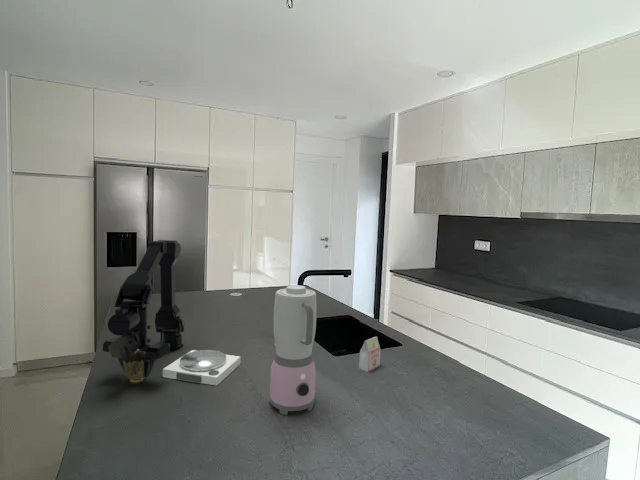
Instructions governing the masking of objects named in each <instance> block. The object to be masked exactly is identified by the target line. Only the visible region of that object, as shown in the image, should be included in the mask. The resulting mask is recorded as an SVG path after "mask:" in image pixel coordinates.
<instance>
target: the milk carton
mask: <svg viewBox="0 0 640 480" xmlns="http://www.w3.org/2000/svg"><path fill="white" fill-rule="evenodd" d="M381 352H382V351H381V346H380V344H379V339H378V336H373V337H371V338H368V339H366V340H364V342H363V345H362V347H361V348H360V350H359V359H358V360H359V361H358V363H359V364H358V369H359V370H362V371H364V372H366V373H369V372H371V371H373V370H375V369H377V368H379V367H380V365H381Z"/></svg>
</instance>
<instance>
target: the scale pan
mask: <svg viewBox="0 0 640 480" xmlns="http://www.w3.org/2000/svg"><path fill="white" fill-rule="evenodd" d="M187 353H188V352H187ZM187 353H185V354H186V355H185V354H184V355H182V356H183V357H182V356H181V357H182V358H181V357H180V358H181V359H180V366H181V367H182V368H184V369H187V370H191V371H206V370H212V369H215V368H218V367H220V366H222V365H223V364H224V363H225V362H226V355H227V354H226V353H224V352H222V351H220V350H215V349H200V350H196V351H194V352H191V353H188V354H187Z"/></svg>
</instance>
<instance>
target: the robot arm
mask: <svg viewBox="0 0 640 480" xmlns="http://www.w3.org/2000/svg"><path fill="white" fill-rule="evenodd" d="M181 249H182V246H181V244H180V243H178V240H169V239H168V240H167V239H165V240H164V239H158V240H151V241H148V243H147V248H146V251H145V253H144V255H143V257H142V259H141V260H140V263H139V265H138V266H137V268H136V270H135V272H133V273H131V274H130V275H128V276H127V277H126V278H125V280H124V281H123V283H122V284H121V286H120V287H119V291H118V295H117V297H116V300H115V304H114V308H117V309H115V311H114V312H115V313H114V315H112V316H111V317H110V318H109V319H108V322H107V328H108V330H109V332H110V333H111V334H112V335H115V336H114V337H111V338H108V339H107V340H104V342H103V344H102V352H107V353H109V354H110V356H111V357H112V358H117V360H118V362H119V363H120V366H121V369H122V371H123V372H124V368H123V361H122V359H123V358H126V357H127V356H128V354H130V355H131V356H132V354H133V353H135V352H138V351H140V352H142V351H143V353H145V354H146V356H144V357H142V358H141V359H142V360H143V361H144V374H145V376H144V378H148V377H149V376H150V374H151V372H152V370H153V368H154V365H155V364H156V361H157V360H158V359H161V358H162V357H165V356H166V355H167V354H169V353H171V352H175V351H176V350H178V349H179V348H181V347H183V346H184V343H183V342H182V334H181V333H184V332H185V328H186V327H185V325H186V323H185V321H184V319H183V317H182V316H181V310H180V308H179V307H178V305H177V303H176V274H175V273H176V269H175V268H176V263H177V261H178V260H179V258H180V253H181V251H182V250H181ZM158 267H159V271H160V273H159V276H160V279H159V280H160V281H159V282H160V307H159V308H158V310H157V311H156V313H155V319H154V325H155V332H156V334H157V333H160V335H159V337H160V341H157V342H155V343H153V344H149V343H150V342H151V338H150V337H148V330H150V329H151V324H148V305H149V304H150V300H151V298H152V294H153V290H154V289H153V283H152V280H153V277H154V275H155V273H156V270H157V268H158Z"/></svg>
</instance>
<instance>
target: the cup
mask: <svg viewBox="0 0 640 480" xmlns="http://www.w3.org/2000/svg"><path fill="white" fill-rule="evenodd" d="M135 352H136V353H135ZM135 352H134V353H133V354H131V355H130V354H128V356H127V357H126V358H123V359H122V361H123V368H124V371H123V373H124V375H125V377H126V378H127V379H129V382H130V384H132V385H138V384H141V383H143V382H144V380H145V379H144V378H145V374H144V361H143V360H142V359H141V358H142V357H144V356H146V353H145V352H144V351H135Z"/></svg>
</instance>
